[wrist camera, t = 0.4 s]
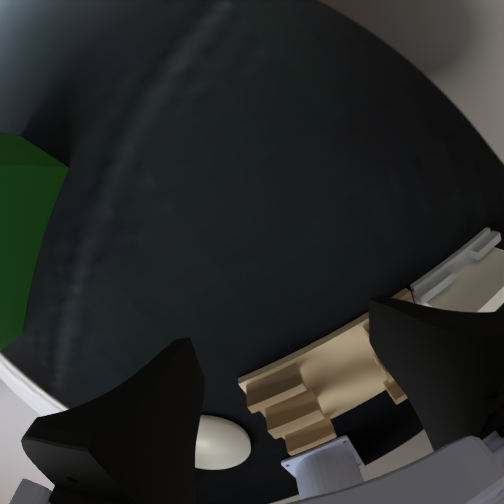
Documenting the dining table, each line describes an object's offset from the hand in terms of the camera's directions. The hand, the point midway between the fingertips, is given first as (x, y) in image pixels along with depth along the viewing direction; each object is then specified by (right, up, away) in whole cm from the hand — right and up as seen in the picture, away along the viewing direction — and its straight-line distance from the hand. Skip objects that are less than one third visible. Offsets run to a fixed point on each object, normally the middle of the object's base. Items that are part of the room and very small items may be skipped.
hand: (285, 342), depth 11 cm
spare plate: (-6, -16, +14) cm, 22 cm away
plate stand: (+18, +1, +11) cm, 21 cm away
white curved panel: (+18, +1, +10) cm, 21 cm away
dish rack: (+7, -7, +12) cm, 16 cm away
